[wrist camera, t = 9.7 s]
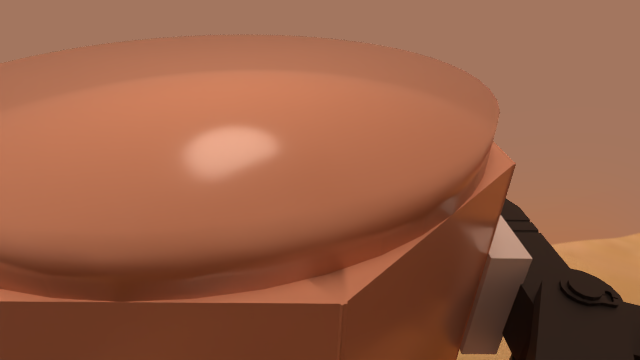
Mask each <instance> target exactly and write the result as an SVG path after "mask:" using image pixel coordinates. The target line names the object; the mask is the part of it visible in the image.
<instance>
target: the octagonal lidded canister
mask: <svg viewBox="0 0 640 360" xmlns="http://www.w3.org/2000/svg"><path fill="white" fill-rule="evenodd" d="M499 114H500V111H499V107H498V103H497V99H496V98H495V96H494V95H493V94H492V92H491V91H490V89H489V88H488V87H486V86H485V85H484V84H483V83H482V82H481V81H480V80H478V79H477V78H475V77H473V76H472V75H470V74H469V73H467V72H465V71H463V70H461V69H459V68H457V67H455V66H452V65H450V64H448V63H445V62H442V61H439V60H437V59H434V58H431V57H427V56H424V55H420V54H417V53H413V52H409V51H405V50H401V49H396V48H391V47H385V46H381V45H375V44H368V43H362V42H355V41H347V40H338V39H327V38H317V37H303V36H284V35H207V36H206V35H203V36H184V37H167V38H154V39H144V40H134V41H124V42H116V43H108V44H99V45H93V46H86V47H79V48H72V49H67V50H61V51H55V52H50V53H45V54H40V55H35V56H30V57H26V58H21V59H17V60H12V61H8V62H4V63H0V360H456V359H457V356H458V352H459V349H460V346H461V342H462V339H463V336H464V332H465V329H466V326H467V323H468V319H469V316H470V313H471V309H472V306H473V303H474V300H475V296H476V293H477V290H478V286H479V283H480V280H481V277H482V273H483V270H484V267H485V263H486V260H487V257H488V254H489V251H490V247H491V244H492V241H493V237H494V234H495V231H496V228H497V224H498V221H499V218H500V214H501V211H502V208H503V205H504V201H505V198H506V195H507V191H508V188H509V185H510V181H511V178H512V175H513V171H514V168H515V165H516V164H515V162H513V161H512V160H511V159H510V158H509V157H508V156H507V155H506V154H505V153H504V152H503V151H502V150H501V149H500V148H499V147H498V146H497V145H496V144H495V143H494V142H493V139H494V135H495V131H496V127H497V123H498V118H499Z"/></svg>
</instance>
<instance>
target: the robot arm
mask: <svg viewBox="0 0 640 360" xmlns="http://www.w3.org/2000/svg"><path fill="white" fill-rule="evenodd" d="M503 336H504V338H505V340H506V342H507V344H508V346H509V348H510V350H511V352H512V354H511V357H510V359H509V360H640V306H639V305H634V304H630V303H626V302H623V300H622V298H621V296H620V295H619V294H618V293H617V292H616V291H615V290H614V289H613V288H612V287H611V286H610V285H608V284H606V283H605V282H603V281H602V280H600V279H599V278H597V277H595V276H592V275H590V274H588V273H585V272H583V271H579V270H574V269H570V268H569V267H568V265H567V264H566V263H565V262H564V261H563V259H562V258H561V257H560V256H559V255H558V253H557V252H556V251H555V250H554V249H553V247H552V246H551V245H550V244H549V243H548V241H547V240H546V239H545V238H544V236H543V235H542V234H541V233H538V229H537V228H536V227H535V226H534V224H533V223H532V222H530V220H529V218H528V217H527V216H526V215H525V214H524V212H523V211H522V210H521V209H520V208H519V207H518V206H516V205H515V204H513V203H512V202H510V201H509V200H507V199H506V198H505V201H504V205H503V208H502V211H501V214H500V218H499V221H498V224H497V228H496V231H495V234H494V237H493V241H492V244H491V247H490V251H489V254H488V257H487V260H486V263H485V267H484V270H483V273H482V277H481V280H480V283H479V286H478V290H477V293H476V296H475V300H474V303H473V306H472V309H471V313H470V316H469V319H468V323H467V326H466V329H465V332H464V336H463V339H462V342H461V346H460V351H461V353H462V354H496V353H497V350H498V348H499V345H500V343H501V340H502V337H503Z"/></svg>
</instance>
